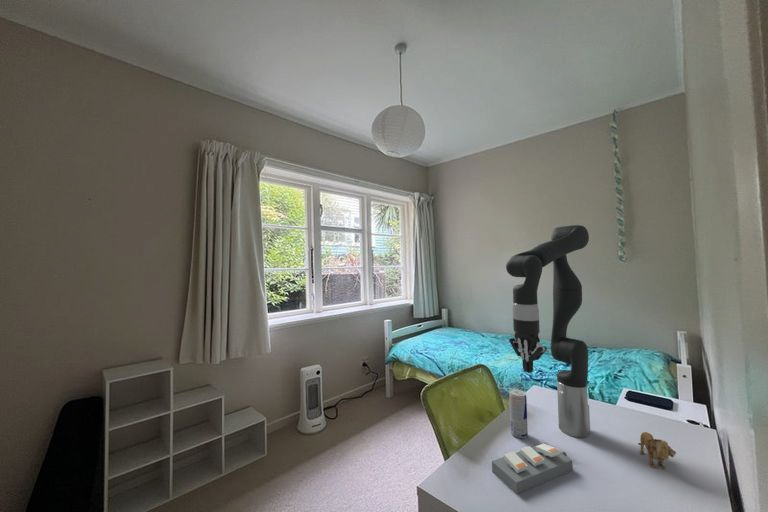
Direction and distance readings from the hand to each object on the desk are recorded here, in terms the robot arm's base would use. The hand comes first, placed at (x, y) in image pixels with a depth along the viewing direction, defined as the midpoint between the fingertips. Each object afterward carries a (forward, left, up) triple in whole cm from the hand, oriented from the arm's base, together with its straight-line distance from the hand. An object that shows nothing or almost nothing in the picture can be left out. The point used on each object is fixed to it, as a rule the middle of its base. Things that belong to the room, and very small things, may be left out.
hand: (528, 371), depth 91 cm
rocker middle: (+5, +5, -23) cm, 24 cm away
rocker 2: (-2, +5, -23) cm, 24 cm away
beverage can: (-6, -10, -27) cm, 29 cm away
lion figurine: (-33, +16, -27) cm, 45 cm away
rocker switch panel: (+3, +5, -27) cm, 27 cm away
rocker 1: (+11, +5, -23) cm, 26 cm away
